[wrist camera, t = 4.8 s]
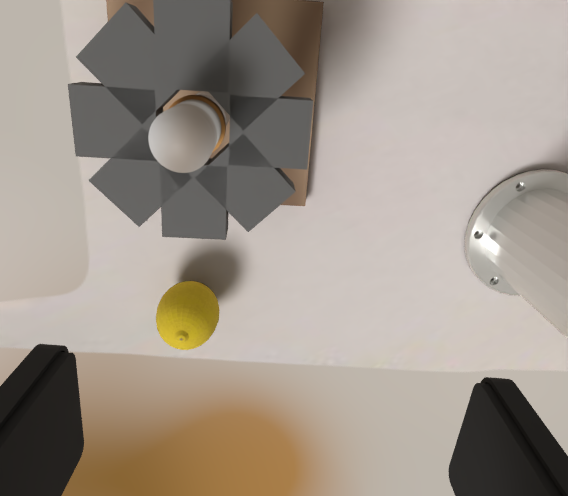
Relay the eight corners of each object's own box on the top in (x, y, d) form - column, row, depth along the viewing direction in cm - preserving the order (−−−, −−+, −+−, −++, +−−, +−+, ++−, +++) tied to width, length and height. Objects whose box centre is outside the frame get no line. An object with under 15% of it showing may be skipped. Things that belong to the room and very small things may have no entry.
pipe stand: (321, 4, 35) (372, -43, 19) (303, 201, 41) (331, 297, 25) (111, -14, 34) (-32, -80, 18) (125, 191, 40) (30, 285, 24)
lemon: (162, 311, 45) (143, 360, 38) (170, 262, 43) (151, 304, 36) (217, 321, 46) (208, 371, 39) (227, 273, 44) (220, 317, 37)
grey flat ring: (317, 9, 25) (321, 5, 23) (298, 231, 30) (300, 243, 28) (72, -11, 24) (56, -17, 22) (95, 221, 29) (84, 233, 27)
